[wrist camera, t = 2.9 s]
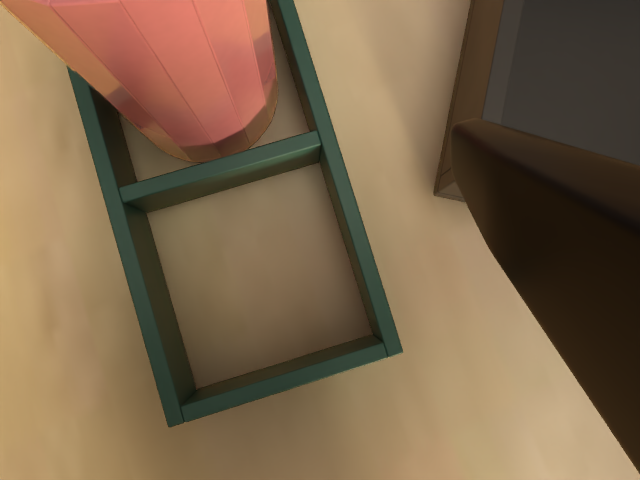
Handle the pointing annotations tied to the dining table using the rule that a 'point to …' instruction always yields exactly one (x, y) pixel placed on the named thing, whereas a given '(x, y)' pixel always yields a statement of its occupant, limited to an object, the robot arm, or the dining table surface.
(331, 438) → the dining table surface
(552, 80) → the square open box
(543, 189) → the robot arm
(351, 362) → the rack
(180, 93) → the cup
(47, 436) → the dining table surface
